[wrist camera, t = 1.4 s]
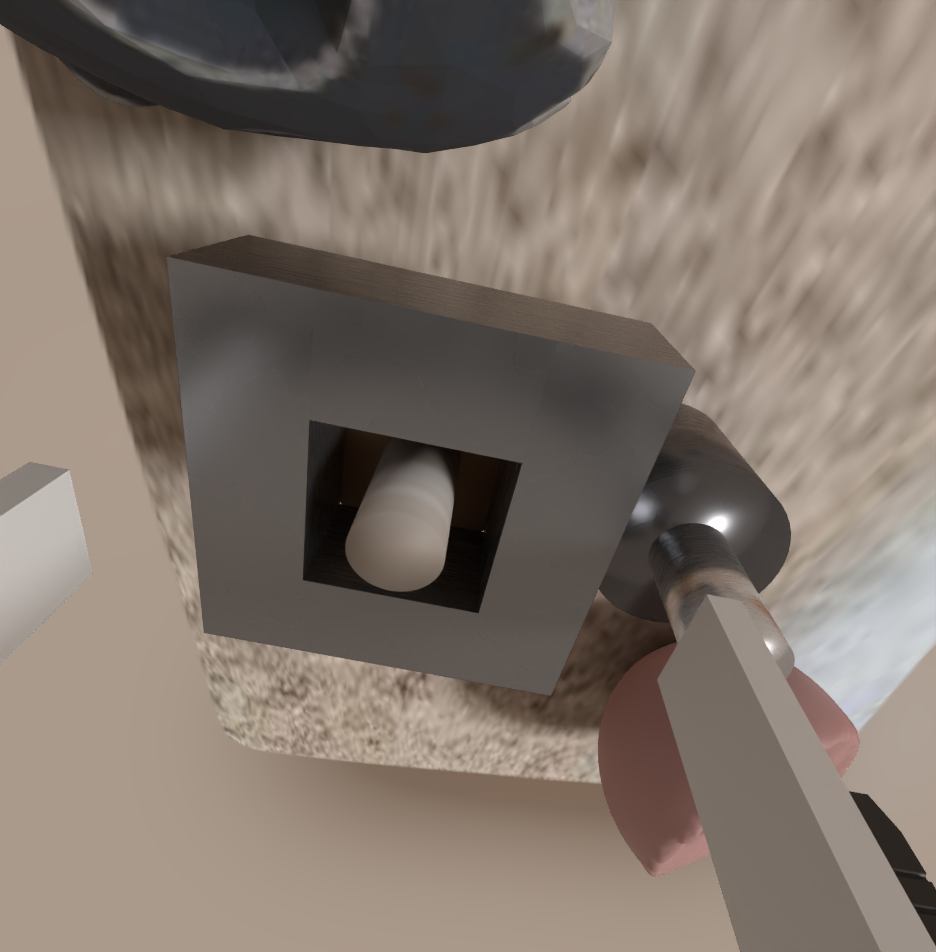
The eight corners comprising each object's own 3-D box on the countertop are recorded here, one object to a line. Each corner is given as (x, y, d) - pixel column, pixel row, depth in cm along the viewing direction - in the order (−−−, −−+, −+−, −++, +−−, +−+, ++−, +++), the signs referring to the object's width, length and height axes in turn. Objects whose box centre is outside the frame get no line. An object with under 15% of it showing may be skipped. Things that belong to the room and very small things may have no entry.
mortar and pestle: (727, 743, 34) (817, 976, 24) (555, 703, 33) (576, 930, 23) (842, 620, 28) (1024, 864, 18) (635, 566, 27) (710, 794, 17)
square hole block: (248, 234, 12) (165, 256, 9) (651, 323, 13) (695, 370, 10) (255, 552, 18) (203, 632, 14) (543, 607, 18) (550, 695, 15)
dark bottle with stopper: (599, 386, 22) (670, 550, 13) (756, 419, 22) (938, 603, 13) (554, 516, 26) (583, 720, 16) (689, 543, 26) (794, 758, 17)
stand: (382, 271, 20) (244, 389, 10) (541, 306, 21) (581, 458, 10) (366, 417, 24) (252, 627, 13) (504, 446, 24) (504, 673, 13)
